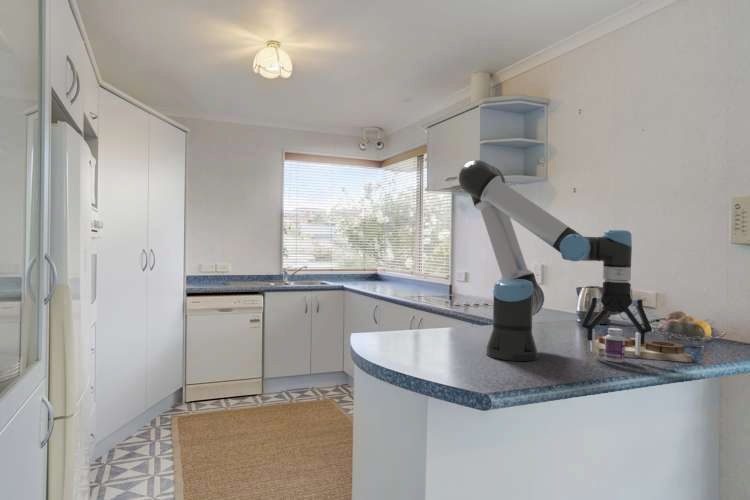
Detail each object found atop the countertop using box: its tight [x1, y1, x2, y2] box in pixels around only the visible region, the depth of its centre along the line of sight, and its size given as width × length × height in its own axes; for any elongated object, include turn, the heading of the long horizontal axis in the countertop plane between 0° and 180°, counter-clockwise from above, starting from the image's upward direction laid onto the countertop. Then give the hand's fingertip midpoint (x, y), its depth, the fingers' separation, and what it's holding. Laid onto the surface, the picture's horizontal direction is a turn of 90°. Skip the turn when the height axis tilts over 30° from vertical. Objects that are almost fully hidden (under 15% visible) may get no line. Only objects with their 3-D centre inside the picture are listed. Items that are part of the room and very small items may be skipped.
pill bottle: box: [604, 327, 626, 364], centre depth 142 cm, size 5×5×10 cm
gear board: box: [589, 333, 693, 363], centre depth 155 cm, size 26×17×6 cm, turn 74°
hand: (614, 353), depth 142 cm, fingers open, 12 cm apart
